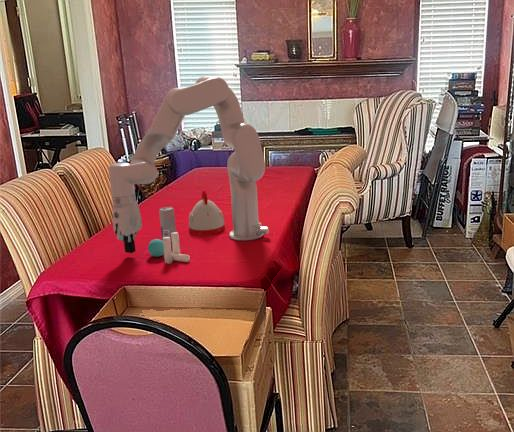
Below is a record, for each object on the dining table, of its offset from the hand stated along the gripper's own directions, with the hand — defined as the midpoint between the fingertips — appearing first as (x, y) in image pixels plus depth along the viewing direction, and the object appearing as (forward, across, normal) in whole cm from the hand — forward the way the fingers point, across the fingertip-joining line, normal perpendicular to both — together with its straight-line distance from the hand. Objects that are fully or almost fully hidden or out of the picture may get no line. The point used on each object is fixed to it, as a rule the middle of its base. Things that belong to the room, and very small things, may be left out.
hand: (130, 251), depth 191 cm
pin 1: (+2, -1, -16) cm, 16 cm away
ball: (-1, +3, -9) cm, 9 cm away
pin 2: (+2, +4, -16) cm, 17 cm away
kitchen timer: (+2, +36, -10) cm, 37 cm away
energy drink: (+2, +20, -3) cm, 20 cm away
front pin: (+1, +1, -13) cm, 13 cm away
